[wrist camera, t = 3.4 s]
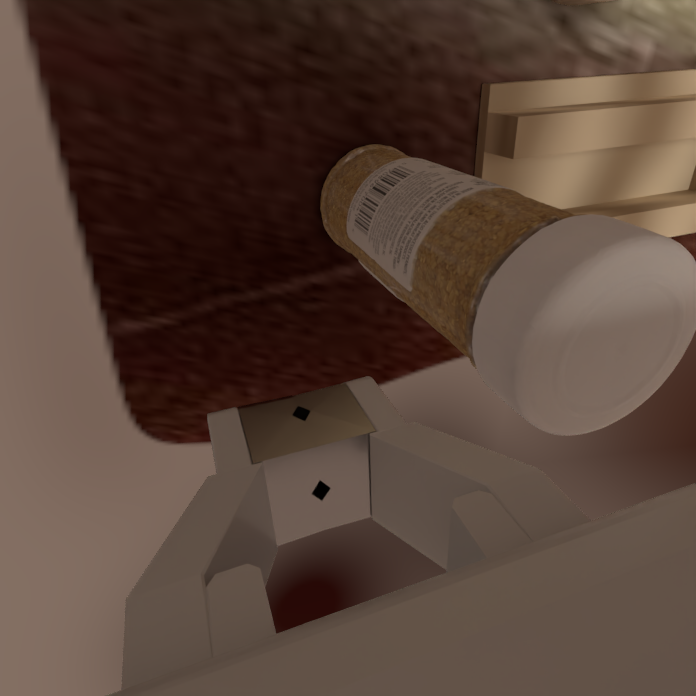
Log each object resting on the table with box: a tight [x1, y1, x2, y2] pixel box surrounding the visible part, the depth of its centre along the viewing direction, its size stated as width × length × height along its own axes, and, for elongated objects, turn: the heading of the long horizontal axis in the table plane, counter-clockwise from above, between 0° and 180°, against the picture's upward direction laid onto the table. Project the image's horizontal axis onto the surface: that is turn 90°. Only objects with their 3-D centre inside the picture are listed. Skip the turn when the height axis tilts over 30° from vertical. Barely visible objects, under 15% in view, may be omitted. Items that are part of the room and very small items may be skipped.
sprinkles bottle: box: [320, 144, 696, 436], centre depth 15 cm, size 5×4×14 cm
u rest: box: [474, 69, 696, 238], centre depth 22 cm, size 14×8×4 cm, turn 93°
